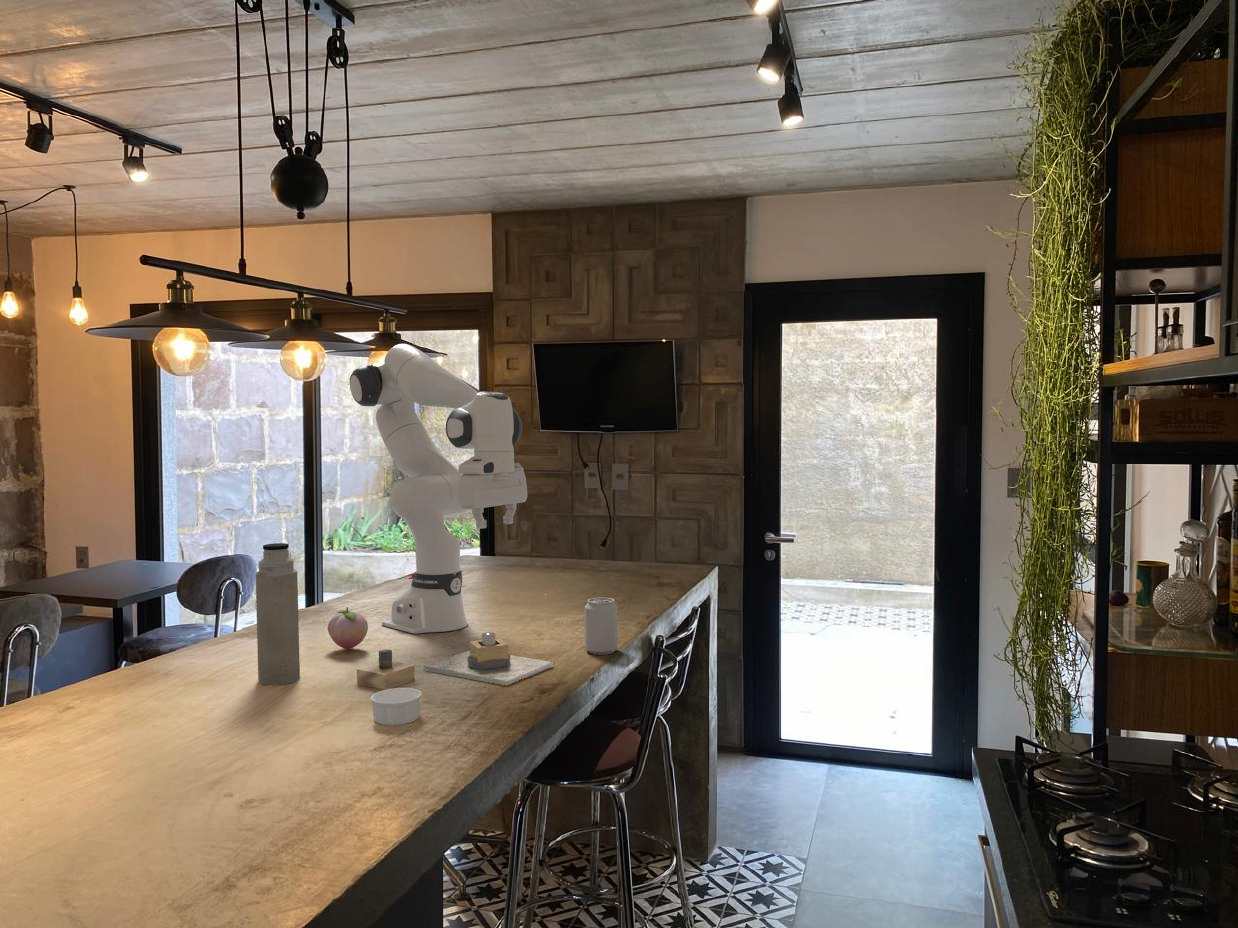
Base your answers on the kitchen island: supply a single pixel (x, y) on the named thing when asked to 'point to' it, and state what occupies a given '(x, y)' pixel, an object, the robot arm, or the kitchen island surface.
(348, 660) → the kitchen island surface
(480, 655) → the tan square hollow frame
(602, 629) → the can
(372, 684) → the stand
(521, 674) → the stone base with peg
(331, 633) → the decorative fruit
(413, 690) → the ramekin
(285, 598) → the thermos bottle
